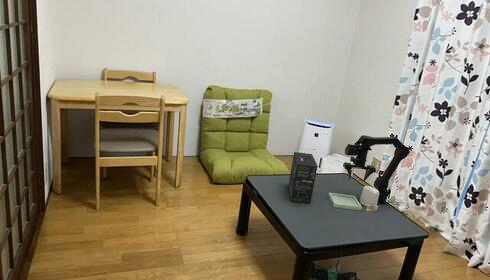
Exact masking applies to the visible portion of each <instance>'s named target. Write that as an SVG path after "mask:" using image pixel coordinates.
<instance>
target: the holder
mask: <svg viewBox="0 0 490 280" xmlns="http://www.w3.org/2000/svg"><path fill="white" fill-rule="evenodd" d="M361 196H362V194H361V195H360V197H359V200H358V202H360V201H361ZM378 207H379V206H378V205H377V206H375V205H367V206H366V208H365V210H366V212H375V213H376V212H378Z"/></svg>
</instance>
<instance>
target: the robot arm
mask: <svg viewBox="0 0 490 280" xmlns="http://www.w3.org/2000/svg"><path fill="white" fill-rule="evenodd" d="M378 145H393V147H394V151H393V157H392V159H391V160H390V162H389V164H388V165H387V167H386V168H385V170H384V172H383V174H382V175H381V176H380V177H378V176H377V177H376V179H375V180H374V181H373V188H375V189H377V190H378V191H379V197H378V202H377V205H378V204H379V205H387V203H386V202H387V198H388V197H389V196H390V194H391V193H390V192H389V190H388V188H389V183H390V179H391V178H392V176H393V175H394V173H395V172H396V170H397V168H398V167H399V165H400V164H401V162H402V161H403V160H404V159H406V158H407V157H408V156H409V155H410V153H411V151H410V150H411V149H410V147H408V146H407V145H405V144H404V143H402V141H401V140H400V139H399V138H397V137H396V136H384V137H383V136H380V137H379V136H375V137H374V136H369V135H361V136H360V137H359V138H358V139H357V141H356V142H355V143H353V144H351V143H348V144H347V145H346V146H345V148H344V155H345V156H350V157H349V158H350V160H349V162H346V161H344V162H343V163H342V167H343V168H344V170H346V171H347V177H348V180H351V177H352V172H353V171H352V169H359V170H365V173H364V175H363V176H364V177H363V182H366V181H367V180H368V178H369V177H370V176H372V175H373V174H375V173H377V168H376V167H375V165H371V164H367V165H366V162H367V158H368V154H369V151H371V152H372V151H373V149H372V147H373V146H378Z"/></svg>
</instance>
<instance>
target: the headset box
mask: <svg viewBox="0 0 490 280" xmlns="http://www.w3.org/2000/svg"><path fill="white" fill-rule="evenodd" d="M290 168H291V169H290V173H289V179H288V190H289V191H288V192H289V196H290V201H291V202H295V203H305V204H311V201H312V198H313V192H314V186H315V182H316V177H317V172H318V168H319V166H318V163H317V161H316V160H315V157H314V155H313V154H312V153H305V152H297V151H294V152H293V156H292V163H291V167H290Z"/></svg>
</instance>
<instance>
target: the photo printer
mask: <svg viewBox="0 0 490 280" xmlns="http://www.w3.org/2000/svg"><path fill="white" fill-rule="evenodd" d="M361 195H362V196H361ZM361 195H360V196H361V201H359V203H360V205H363V206H364V207H367V205H375V206H378V204H377V202H378V197H379V191H378V190H377V189H375V188H374V186H370V185H364V186H363V188H362V192H361Z"/></svg>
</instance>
